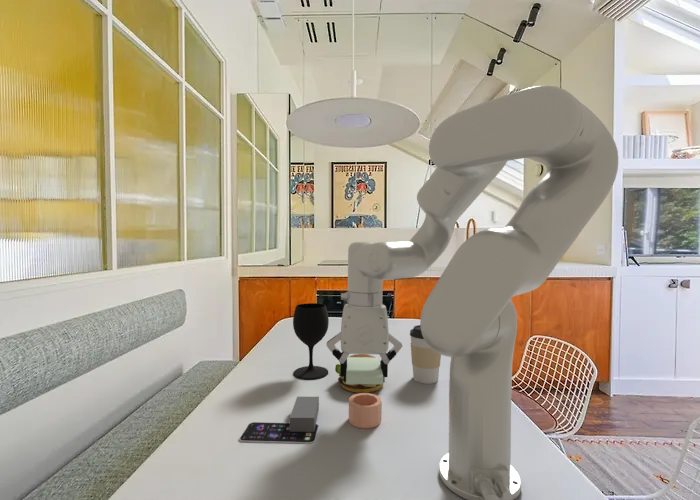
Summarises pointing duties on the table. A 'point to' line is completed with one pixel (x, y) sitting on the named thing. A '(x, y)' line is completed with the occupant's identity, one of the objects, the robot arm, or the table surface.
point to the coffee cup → (423, 358)
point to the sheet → (364, 371)
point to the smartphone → (276, 434)
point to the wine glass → (310, 335)
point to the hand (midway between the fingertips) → (363, 379)
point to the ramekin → (365, 410)
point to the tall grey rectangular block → (304, 414)
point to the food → (357, 387)
